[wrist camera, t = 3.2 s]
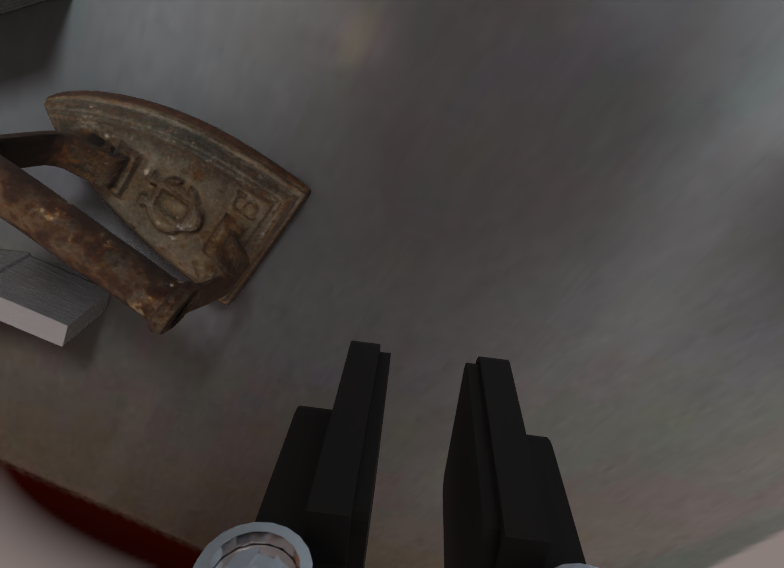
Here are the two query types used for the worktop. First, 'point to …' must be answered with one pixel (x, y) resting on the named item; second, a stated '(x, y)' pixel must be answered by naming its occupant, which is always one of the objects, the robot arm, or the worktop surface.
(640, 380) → the worktop surface
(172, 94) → the worktop surface
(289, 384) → the worktop surface
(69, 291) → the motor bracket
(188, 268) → the clothes iron
